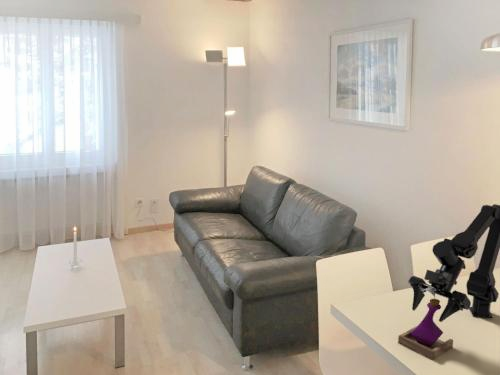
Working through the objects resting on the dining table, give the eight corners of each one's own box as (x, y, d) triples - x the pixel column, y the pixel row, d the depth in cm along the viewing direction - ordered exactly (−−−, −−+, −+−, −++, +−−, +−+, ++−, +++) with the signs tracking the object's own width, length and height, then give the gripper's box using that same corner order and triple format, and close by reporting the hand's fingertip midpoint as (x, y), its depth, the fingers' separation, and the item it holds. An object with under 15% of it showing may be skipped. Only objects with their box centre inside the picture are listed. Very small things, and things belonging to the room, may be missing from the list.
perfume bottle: (442, 341, 153) (447, 288, 149) (433, 351, 148) (437, 296, 144) (419, 333, 158) (423, 281, 154) (409, 342, 153) (413, 289, 149)
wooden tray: (418, 331, 160) (418, 324, 160) (452, 347, 151) (453, 340, 150) (398, 343, 154) (398, 335, 153) (432, 359, 144) (433, 352, 144)
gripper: (413, 251, 156) (390, 293, 152) (469, 269, 142) (445, 315, 138) (425, 268, 163) (403, 309, 159) (480, 287, 148) (458, 331, 144)
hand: (426, 315), depth 150 cm, fingers open, 9 cm apart
